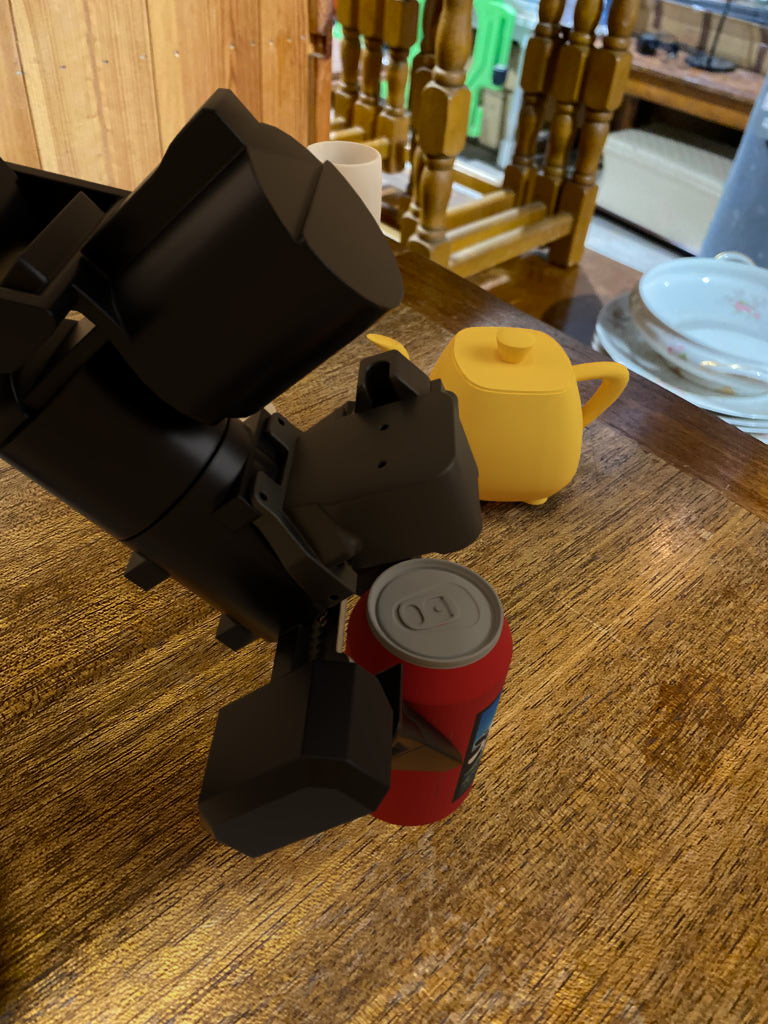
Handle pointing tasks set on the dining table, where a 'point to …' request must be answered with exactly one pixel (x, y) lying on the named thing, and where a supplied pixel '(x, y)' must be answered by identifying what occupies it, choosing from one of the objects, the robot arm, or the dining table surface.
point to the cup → (355, 169)
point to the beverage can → (435, 670)
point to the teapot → (520, 406)
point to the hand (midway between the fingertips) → (451, 692)
